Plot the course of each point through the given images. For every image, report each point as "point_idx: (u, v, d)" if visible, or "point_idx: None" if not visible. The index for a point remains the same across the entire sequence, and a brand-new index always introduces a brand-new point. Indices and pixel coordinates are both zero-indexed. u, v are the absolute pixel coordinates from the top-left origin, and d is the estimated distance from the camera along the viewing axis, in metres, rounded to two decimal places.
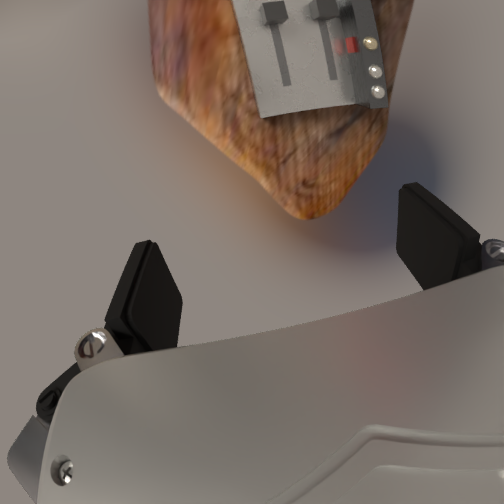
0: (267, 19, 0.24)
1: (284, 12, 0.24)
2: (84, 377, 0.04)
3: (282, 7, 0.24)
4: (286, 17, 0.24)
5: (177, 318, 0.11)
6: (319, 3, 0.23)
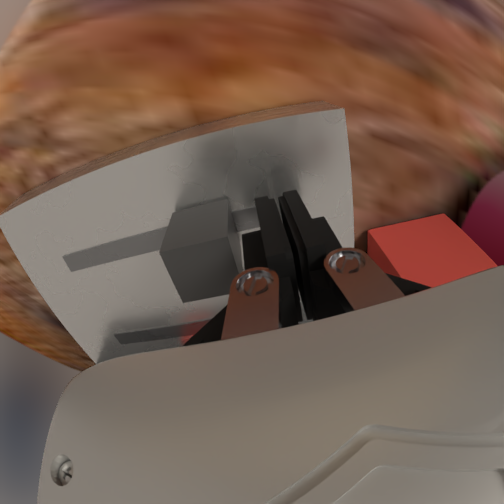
0: (165, 253, 0.10)
1: (200, 294, 0.11)
2: (84, 377, 0.04)
3: (218, 288, 0.11)
4: (185, 298, 0.11)
5: None
6: None
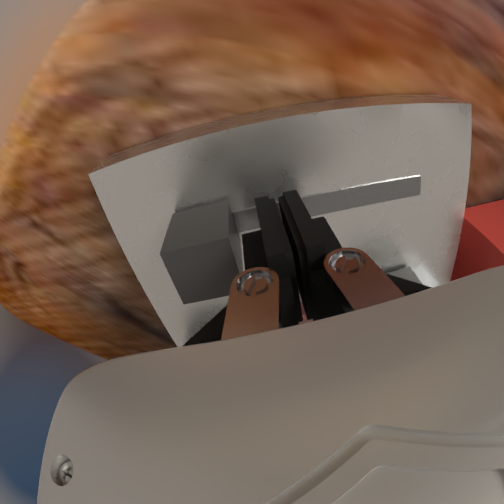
0: (166, 254, 0.10)
1: (201, 295, 0.11)
2: (84, 377, 0.04)
3: (218, 289, 0.11)
4: (185, 300, 0.11)
5: None
6: None
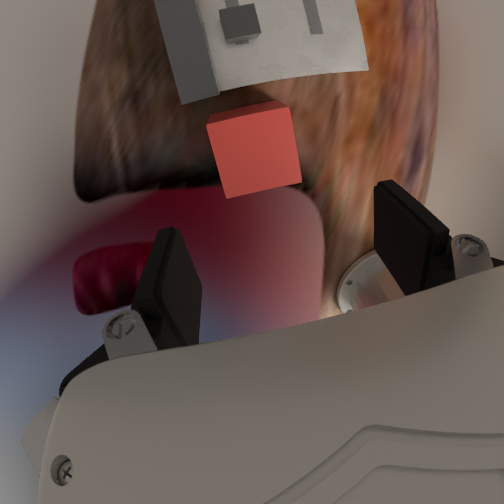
0: None
1: None
2: (84, 377, 0.04)
3: None
4: None
5: (198, 304, 0.11)
6: (254, 25, 0.15)
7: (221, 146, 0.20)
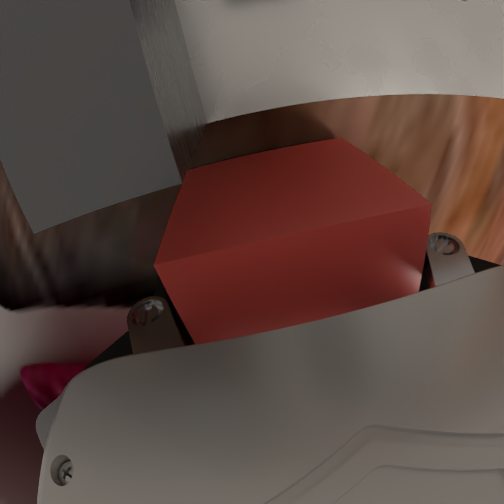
0: None
1: None
2: (84, 377, 0.04)
3: None
4: None
5: None
6: None
7: (211, 320, 0.07)
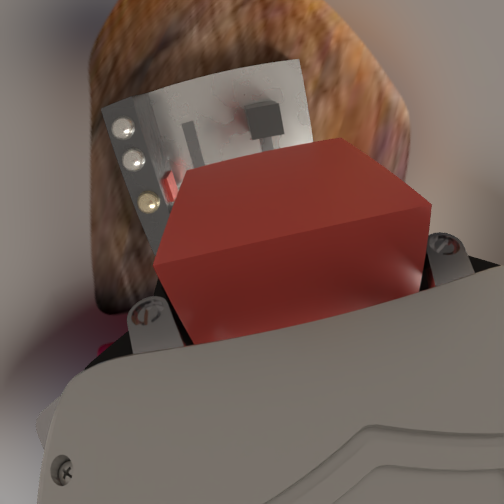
0: (277, 106, 0.19)
1: (251, 119, 0.20)
2: (84, 377, 0.04)
3: (254, 127, 0.20)
4: (248, 110, 0.19)
5: None
6: None
7: (211, 321, 0.07)
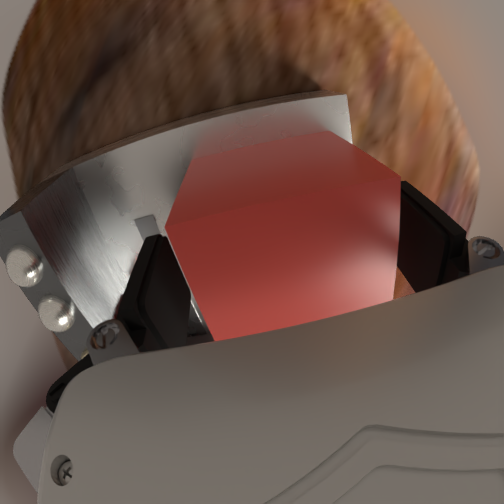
0: None
1: None
2: (84, 377, 0.04)
3: None
4: None
5: (187, 311, 0.11)
6: None
7: (212, 280, 0.08)
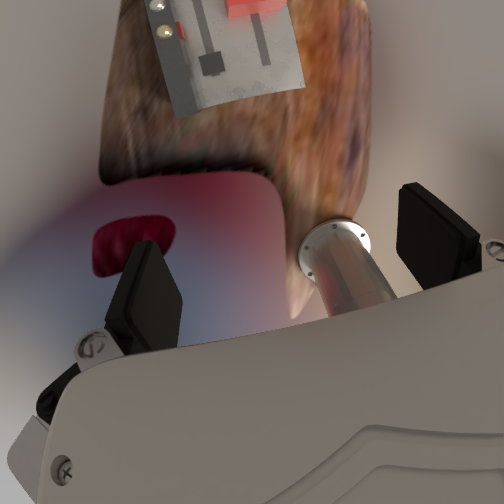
0: None
1: None
2: (84, 377, 0.04)
3: None
4: None
5: (177, 318, 0.11)
6: (220, 65, 0.27)
7: None
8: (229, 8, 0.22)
